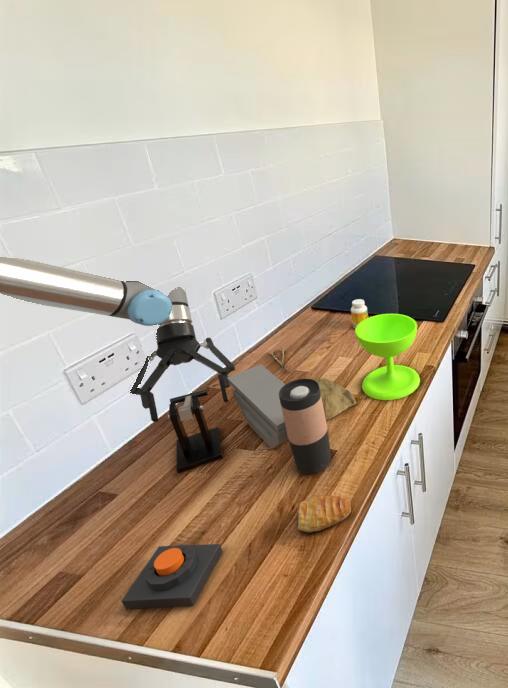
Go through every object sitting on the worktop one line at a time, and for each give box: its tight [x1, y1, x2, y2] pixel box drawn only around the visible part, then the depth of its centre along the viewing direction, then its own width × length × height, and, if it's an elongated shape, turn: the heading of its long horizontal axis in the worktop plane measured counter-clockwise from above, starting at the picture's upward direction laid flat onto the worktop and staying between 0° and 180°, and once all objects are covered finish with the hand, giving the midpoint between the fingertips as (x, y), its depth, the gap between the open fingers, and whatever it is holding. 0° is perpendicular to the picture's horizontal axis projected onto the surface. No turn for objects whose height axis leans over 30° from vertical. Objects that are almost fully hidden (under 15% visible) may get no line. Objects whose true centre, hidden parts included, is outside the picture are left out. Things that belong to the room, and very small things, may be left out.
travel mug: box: [279, 378, 332, 475], centre depth 91 cm, size 8×8×20 cm
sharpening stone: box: [227, 363, 289, 450], centre depth 102 cm, size 25×8×11 cm, turn 51°
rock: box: [315, 377, 357, 421], centre depth 109 cm, size 11×9×10 cm
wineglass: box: [354, 313, 421, 401], centre depth 119 cm, size 16×16×18 cm
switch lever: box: [169, 389, 209, 422], centre depth 96 cm, size 13×7×2 cm, turn 34°
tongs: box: [268, 347, 287, 373], centre depth 129 cm, size 4×13×2 cm, turn 40°
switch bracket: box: [167, 397, 223, 474], centre depth 94 cm, size 10×8×13 cm
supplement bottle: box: [350, 298, 369, 330], centre depth 149 cm, size 5×5×10 cm
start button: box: [154, 548, 184, 576], centre depth 70 cm, size 4×4×2 cm
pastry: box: [297, 494, 352, 533], centre depth 83 cm, size 9×7×4 cm
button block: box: [121, 543, 224, 610], centre depth 71 cm, size 10×9×4 cm
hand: (191, 410), depth 100 cm, fingers open, 13 cm apart
